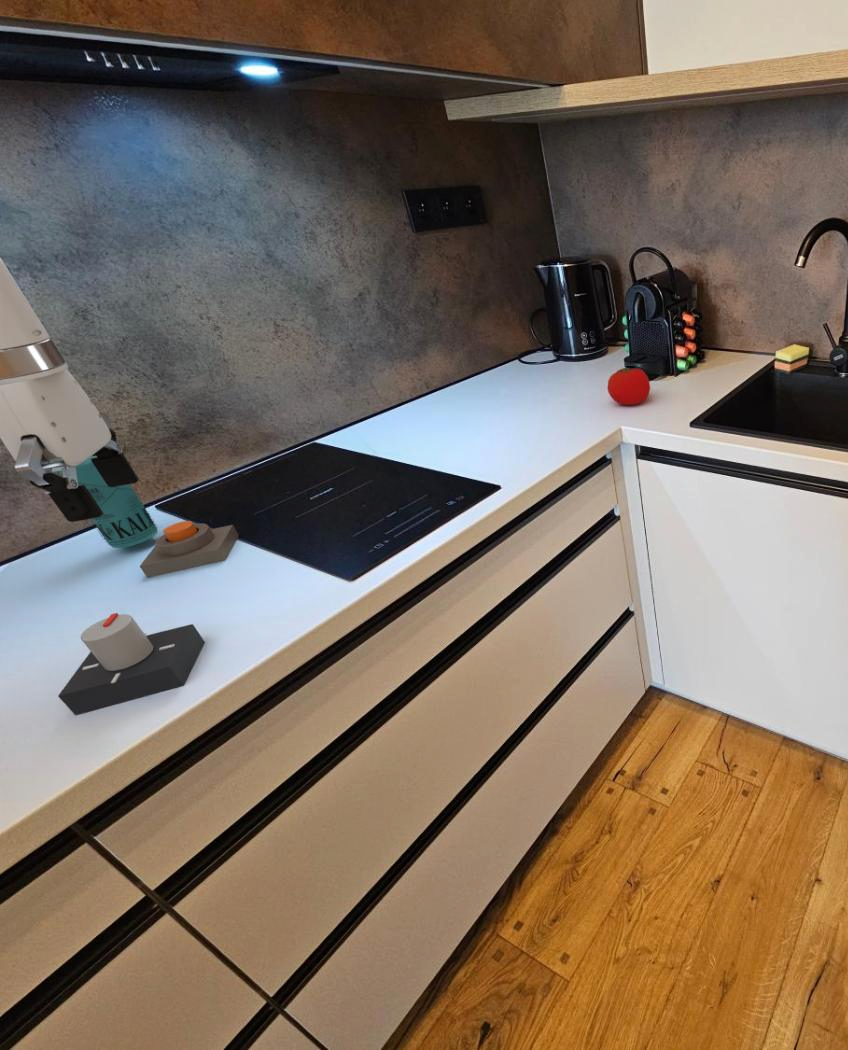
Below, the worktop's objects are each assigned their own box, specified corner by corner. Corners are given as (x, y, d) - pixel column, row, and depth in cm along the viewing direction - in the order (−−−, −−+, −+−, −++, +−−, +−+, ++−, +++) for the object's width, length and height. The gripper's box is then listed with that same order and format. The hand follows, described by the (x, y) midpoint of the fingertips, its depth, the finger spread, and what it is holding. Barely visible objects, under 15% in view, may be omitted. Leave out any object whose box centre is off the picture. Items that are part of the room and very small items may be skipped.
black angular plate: (73, 717, 63) (55, 697, 62) (108, 665, 70) (92, 646, 69) (182, 687, 66) (167, 667, 65) (205, 640, 73) (193, 621, 72)
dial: (144, 664, 65) (119, 631, 63) (96, 675, 64) (69, 643, 62) (160, 639, 69) (137, 608, 67) (115, 650, 68) (90, 618, 65)
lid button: (165, 545, 87) (159, 535, 86) (174, 534, 90) (167, 524, 89) (193, 539, 88) (187, 529, 87) (201, 528, 91) (195, 518, 90)
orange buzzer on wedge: (147, 578, 86) (132, 556, 84) (167, 551, 93) (153, 530, 91) (225, 560, 89) (212, 538, 87) (239, 535, 96) (227, 514, 94)
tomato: (659, 401, 139) (656, 366, 135) (624, 413, 134) (619, 377, 129) (637, 393, 145) (633, 359, 141) (602, 404, 140) (597, 369, 136)
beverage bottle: (121, 542, 96) (43, 429, 86) (170, 530, 99) (100, 419, 88) (108, 561, 91) (23, 443, 81) (160, 549, 94) (84, 432, 83)
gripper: (19, 350, 69) (103, 478, 78) (-90, 390, 55) (28, 541, 64) (95, 341, 71) (169, 467, 80) (9, 377, 57) (110, 526, 66)
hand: (106, 500), depth 72 cm, fingers open, 9 cm apart
